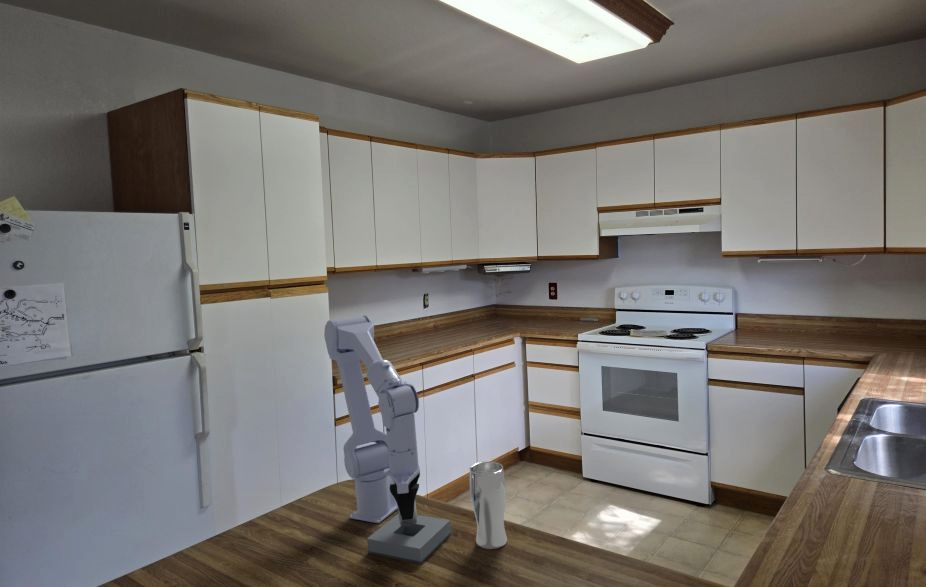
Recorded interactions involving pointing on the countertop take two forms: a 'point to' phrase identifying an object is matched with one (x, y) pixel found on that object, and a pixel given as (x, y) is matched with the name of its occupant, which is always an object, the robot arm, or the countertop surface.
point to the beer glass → (488, 503)
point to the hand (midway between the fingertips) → (408, 513)
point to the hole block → (409, 539)
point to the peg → (409, 521)
